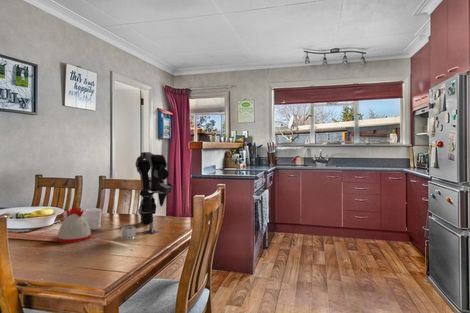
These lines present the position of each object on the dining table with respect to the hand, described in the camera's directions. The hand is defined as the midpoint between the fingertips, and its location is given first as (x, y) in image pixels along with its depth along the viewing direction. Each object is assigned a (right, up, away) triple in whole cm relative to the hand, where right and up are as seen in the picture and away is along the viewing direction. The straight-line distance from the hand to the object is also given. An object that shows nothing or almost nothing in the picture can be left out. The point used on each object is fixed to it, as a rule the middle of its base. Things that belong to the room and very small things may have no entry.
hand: (155, 207), depth 160 cm
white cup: (-34, -12, +2) cm, 36 cm away
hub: (-9, -12, -16) cm, 22 cm away
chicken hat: (-34, -12, -17) cm, 40 cm away
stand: (-1, -13, -6) cm, 14 cm away
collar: (-9, -11, -16) cm, 21 cm away
